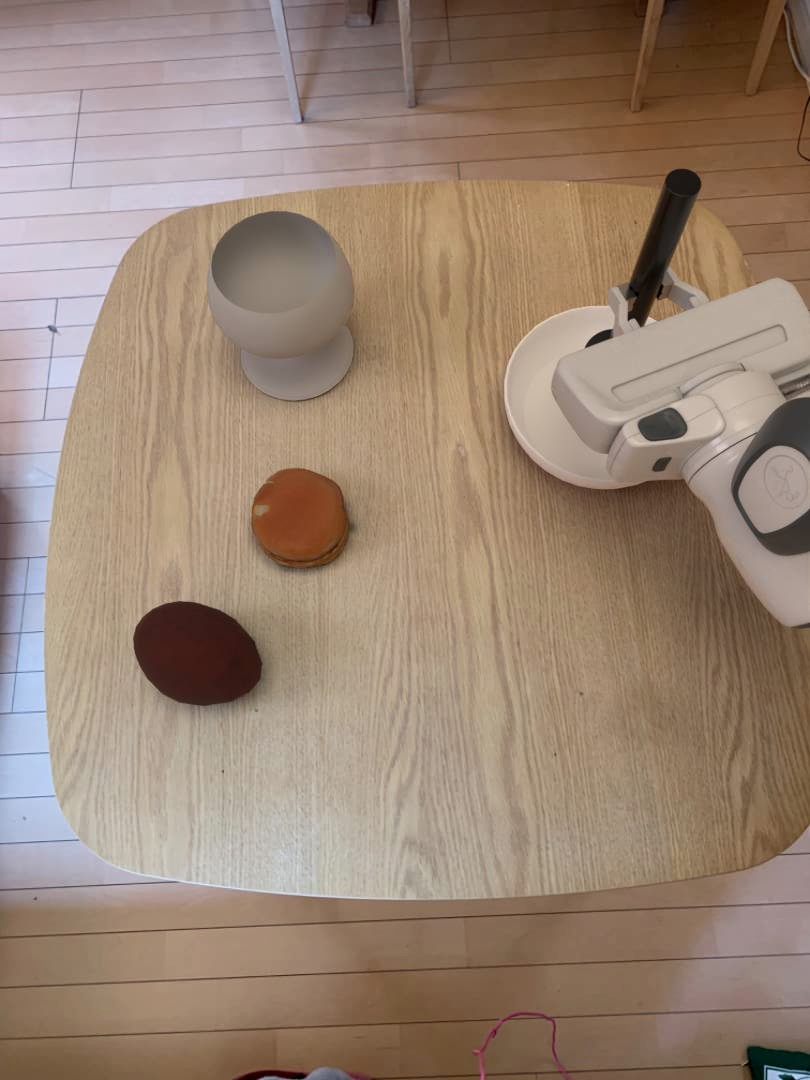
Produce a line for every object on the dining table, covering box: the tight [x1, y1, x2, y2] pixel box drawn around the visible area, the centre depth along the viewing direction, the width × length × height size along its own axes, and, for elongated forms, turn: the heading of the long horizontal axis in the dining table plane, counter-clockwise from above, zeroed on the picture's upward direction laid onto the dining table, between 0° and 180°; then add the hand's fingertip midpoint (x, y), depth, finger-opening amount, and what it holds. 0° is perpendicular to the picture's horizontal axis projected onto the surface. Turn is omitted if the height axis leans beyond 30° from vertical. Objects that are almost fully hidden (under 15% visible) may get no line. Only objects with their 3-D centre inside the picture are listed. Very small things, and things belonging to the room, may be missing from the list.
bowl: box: [503, 305, 658, 490], centre depth 85 cm, size 20×20×6 cm
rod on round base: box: [585, 168, 702, 348], centre depth 68 cm, size 6×6×24 cm
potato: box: [132, 600, 263, 707], centre depth 75 cm, size 9×12×9 cm
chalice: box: [206, 210, 355, 401], centre depth 84 cm, size 14×14×15 cm
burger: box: [250, 467, 350, 569], centre depth 82 cm, size 10×9×5 cm
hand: (636, 281), depth 68 cm, fingers closed on rod on round base, 2 cm apart
